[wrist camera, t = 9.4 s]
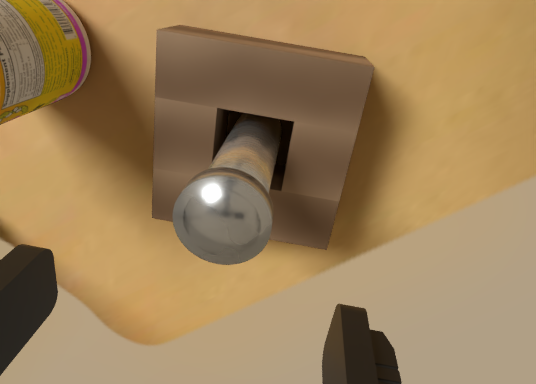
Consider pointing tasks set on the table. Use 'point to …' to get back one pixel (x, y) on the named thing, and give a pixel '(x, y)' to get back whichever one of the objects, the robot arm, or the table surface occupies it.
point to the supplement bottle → (39, 55)
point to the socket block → (264, 104)
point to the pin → (232, 195)
